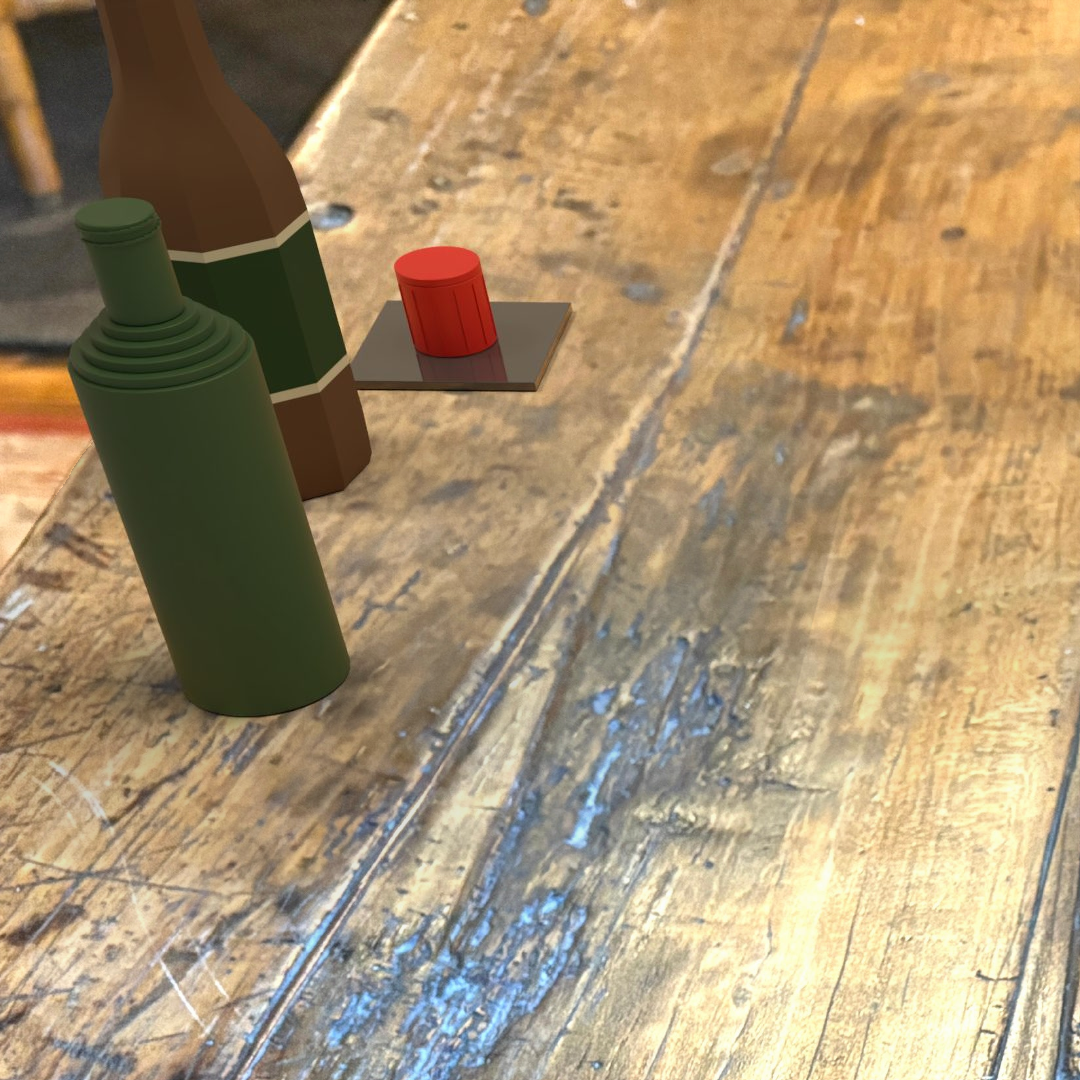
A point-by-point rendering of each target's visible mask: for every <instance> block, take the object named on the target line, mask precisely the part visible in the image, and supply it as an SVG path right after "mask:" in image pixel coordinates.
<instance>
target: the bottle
mask: <svg viewBox="0 0 1080 1080" xmlns="http://www.w3.org/2000/svg"><path fill="white" fill-rule="evenodd" d="M161 223H162V222H161V219H160V218H159V217H158V215H157V213H155V209H154V207H153V206H152V205H151V204H150V203H149V202H147V201H145V200H141V199H136V198H110V199H104V198H103V199H100V200H96V201H93V202H90V203H88V204H86V205H84V206H82V207H80V208H78V210H77V211H76V212H75V215H74V225H73V226H74V228H75V230H76V231H77V232H79V234H80V237H81V238H80V239H79V240H80V242H81V243H82V245H83V246H84V250H85V252H86V255H87V258H88V262H89V263H90V267H91V270H92V273H93V276H94V278H95V281H96V284H97V288H98V290H99V294H100V296H101V299H102V301H103V305H104V307H103V308H102V309H101V310H100V311H99V313H98V315H97V316H96V317H95V318H93V319H92V321H91V322H90V323H89V325H88V326H87V327H85V329H84V330H83V331H82V333H81V334H80V335H79V337H77V338H76V340H75V341H74V342H73V343H72V345H70V346H71V347H70V350H69V357H68V358H67V363H66V364H67V365H66V367H67V372H68V375H69V377H70V380H71V383H72V386H73V388H74V391H75V394H76V396H77V400H78V403H79V405H80V408H81V410H82V414H83V416H84V419H85V423H86V425H87V427H88V430H89V434H90V436H91V438H92V441H93V444H94V447H95V450H96V452H97V455H98V458H99V462H100V465H101V466H102V469H103V471H104V475H105V478H106V481H107V483H108V486H109V489H110V491H111V494H112V497H113V500H114V502H115V506H116V509H117V512H118V513H119V518H120V519H121V522H122V525H123V527H124V530H125V533H126V536H127V539H128V541H129V544H130V547H131V550H132V553H133V556H134V559H135V561H136V564H137V566H138V569H139V572H140V575H141V578H142V580H143V584H144V587H145V589H146V591H147V592H146V593H147V595H148V597H149V599H150V603H151V605H152V608H153V611H154V613H155V617H156V619H157V623H158V626H159V628H160V631H161V633H162V636H163V640H164V643H165V644H166V647H167V650H168V653H169V656H170V659H171V661H172V664H173V667H174V670H175V672H176V675H177V678H178V680H179V684H180V686H181V689H182V692H183V694H184V696H185V697H186V698H187V700H189V701H190V702H191V703H192V704H193V705H195V706H197V707H199V708H201V709H203V710H205V711H207V712H211V713H215V714H217V715H218V714H219V715H223V714H224V715H223V716H231V715H233V716H232V717H261V716H267V715H268V716H269V715H275V714H280V713H284V712H289V711H293V710H296V709H300V708H302V707H305V706H309V705H310V704H313V703H314V702H317V701H319V700H321V699H323V698H325V697H326V696H328V695H329V694H330V693H332V692H333V691H335V690H337V688H338V687H339V686H340V685H341V684H342V683H343V682H344V681H345V679H346V678H347V676H348V674H349V671H350V668H351V658H350V654H349V651H348V648H347V645H346V641H345V637H344V635H343V632H342V629H341V625H340V622H339V619H338V615H337V611H336V609H335V605H334V601H333V599H332V595H331V592H330V589H329V585H328V582H327V578H326V575H325V572H324V568H323V566H322V565H323V564H322V562H321V558H320V555H319V552H318V549H317V546H316V543H315V539H314V537H313V532H312V529H311V526H310V523H309V520H308V516H307V513H306V509H305V506H304V503H303V500H302V499H301V496H300V493H299V489H298V486H297V483H296V479H295V476H294V473H293V470H292V466H291V463H290V460H289V456H288V453H287V450H286V446H285V443H284V440H283V437H282V433H281V430H280V427H279V423H278V420H277V417H276V413H275V410H274V407H273V404H272V400H271V397H270V394H269V390H268V387H267V384H266V380H265V377H264V374H263V371H262V367H261V364H260V361H259V357H258V354H257V351H256V347H255V344H254V341H253V339H252V337H251V336H250V335H249V334H248V333H247V332H246V331H245V330H244V329H243V328H242V327H241V326H240V324H239V323H238V322H236V321H235V320H233V319H232V318H230V317H228V316H225V315H222V314H220V313H219V312H217V311H215V310H213V309H210V308H207V307H206V306H204V305H202V304H200V303H198V302H195V301H193V300H191V299H190V298H188V297H185V296H182V294H181V291H180V288H179V285H178V281H177V278H176V275H175V272H174V269H173V266H172V263H171V260H170V256H169V253H168V250H167V247H166V244H165V241H164V238H163V234H162V231H161ZM237 715H238V716H237Z"/></svg>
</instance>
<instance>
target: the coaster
mask: <svg viewBox="0 0 1080 1080" xmlns="http://www.w3.org/2000/svg"><path fill="white" fill-rule="evenodd" d="M490 306H491V310H492V314H493V319H494V323H495V327H496V331H497V340H496V342H495V343H494V344H493V345H492V346H491V347H489V348H488V349H486V350H484V351H481V352H479V353H476V354H472V355H469V356H462V357H453V358H447V357H434V356H430V355H426V354H423V353H421V352H420V351H418V350H417V349H416V348H415V346H414V344H413V341H412V337H411V334H410V330H409V326H408V322H407V318H406V314H405V310H404V306H403V302H402V300H398V299H397V300H394V299H393V300H392V299H391V300H389V299H387V300H386V301H385V302H384V304H383V306H382V308H381V309H380V311H379V312H378V314H377V316H376V318H375V320H374V322H373V324H372V325H371V327H370V328H369V330H368V332H367V334H366V335H365V337H364V339H363V340H362V343H361V344H360V345H359V348H358V349H357V351H356V353H355V355H354V357H353V358H352V360H351V361H350V366H351V369H352V373H353V376H354V380H355V384H356V387H357V390H428V391H429V390H431V391H432V390H436V391H442V390H445V391H456V390H457V391H458V390H459V391H527V392H528V391H531V392H533V391H534V392H535V391H538V388H539V385H540V383H541V381H542V379H543V376H544V375H545V372H546V370H547V367H548V365H549V363H550V361H551V358H552V356H553V354H554V352H555V350H556V347H557V345H558V343H559V341H560V339H561V336H562V334H563V332H564V330H565V327H566V325H567V324H568V321H569V318H570V317H571V314H572V312H573V305H572V303H571V302H564V301H563V302H562V301H561V302H560V301H559V302H558V301H490Z"/></svg>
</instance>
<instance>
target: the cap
mask: <svg viewBox="0 0 1080 1080" xmlns="http://www.w3.org/2000/svg"><path fill="white" fill-rule="evenodd" d="M482 267H483V266H482V263H481V259H480V257H479V255H478V253H476V252H475V251H472V250H471V249H468V248H464V247H459V246H453V245H452V246H451V245H436V246H428V247H422V248H418V249H414V250H412V251H409V252H407V253H404V254H402V255H401V256H400V257H399V258H397V260H395V262H394V264H393V270H394V274H395V278H396V281H397V287H398V291H399V294H400V298H401V301H402V302H403V306H404V310H405V314H406V318H407V322H408V326H409V330H410V334H411V337H412V341H413V344H414V346H415V348H416V349H417V350H418V351H420V352H421V353H423V354H426V355H430V356H434V357H447V358H453V357H462V356H469V355H472V354H476V353H479V352H481V351H484V350H486V349H488V348H489V347H491V346H492V345H493V344H494V343H495V342H496V340H497V331H496V327H495V323H494V319H493V314H492V310H491V306H490V302H491V301H490V298H489V293H488V288H487V284H486V280H485V276H484V272H483V268H482Z"/></svg>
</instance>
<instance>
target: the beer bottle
mask: <svg viewBox="0 0 1080 1080" xmlns="http://www.w3.org/2000/svg"><path fill="white" fill-rule="evenodd" d="M94 2H95V6H96V11H97V14H98V19H99V22H100V25H101V30H102V33H103V37H104V41H105V45H106V49H107V55H108V61H109V69H110V77H111V83H112V91H113V93H112V96H111V99H110V102H109V105H108V109H107V111H106V115H105V118H104V120H103V124H102V127H101V130H100V132H99V148H98V149H99V150H98V179H99V185H100V187H101V191H102V195H103V200H104V199H110V198H136V199H141V200H145V201H147V202H149V203H150V204H151V205H152V206H153V207H154V209H155V213H157V215H158V217H159V218H160V219H161V222H162V223H161V231H162V234H163V238H164V241H165V244H166V247H167V250H168V253H169V256H170V260H171V263H172V266H173V269H174V272H175V275H176V278H177V281H178V285H179V288H180V291H181V294H182V296H185V297H188V298H190V299H191V300H193V301H195V302H198V303H200V304H202V305H204V306H206V307H207V308H210V309H213V310H215V311H217V312H219V313H220V314H222V315H225V316H228V317H230V318H232V319H233V320H235V321H236V322H238V323H239V324H240V326H241V327H242V328H243V329H244V330H245V331H246V332H247V333H248V334H249V335H250V336H251V337H252V339H253V341H254V344H255V347H256V351H257V354H258V357H259V361H260V364H261V367H262V371H263V374H264V377H265V380H266V384H267V387H268V390H269V394H270V397H271V400H272V404H273V407H274V410H275V413H276V417H277V420H278V423H279V427H280V430H281V433H282V437H283V440H284V443H285V446H286V450H287V453H288V456H289V460H290V463H291V466H292V470H293V473H294V476H295V479H296V483H297V486H298V489H299V493H300V496H301V499H302V501H305V500H309V499H313V498H317V497H321V496H324V495H327V494H332V493H335V492H339V491H343V490H345V489H346V487H348V485H349V484H350V483H352V481H353V480H354V479H355V478H356V477H357V476H358V474H360V473H361V472H362V470H364V468H365V467H366V466H367V465H368V464H369V463H370V462H371V459H372V458H371V457H372V454H373V450H372V447H371V446H372V445H371V442H370V436H369V432H368V427H367V422H366V417H365V413H364V410H363V406H362V402H361V398H360V394H359V392H358V391H359V390H358V389H357V387H356V384H355V380H354V376H353V373H352V369H351V366H350V364H351V361H350V359H349V355H348V351H347V348H346V344H345V340H344V336H343V334H342V329H341V326H340V322H339V318H338V315H337V311H336V308H335V303H334V301H333V297H332V294H331V290H330V286H329V282H328V278H327V276H326V272H325V268H324V264H323V261H322V257H321V252H320V250H319V246H318V242H317V238H316V235H315V232H314V227H313V223H312V220H311V217H310V213H309V210H308V207H307V204H306V201H305V199H304V196H303V192H302V189H301V187H300V184H299V181H298V178H297V176H296V174H295V170H294V168H293V165H292V162H291V161H290V159H289V158H288V157H287V155H286V154H285V152H284V150H283V148H282V147H281V146H280V144H279V143H278V140H277V139H276V137H275V136H274V135H273V133H272V132H271V130H270V129H269V127H268V126H267V124H266V123H265V122H264V121H262V119H261V118H260V117H258V115H257V114H256V113H255V112H254V111H253V110H252V109H251V108H250V107H249V106H248V105H247V104H246V103H245V102H244V101H243V100H242V99H241V98H240V97H239V95H238V94H237V93H235V92H234V90H232V88H231V87H229V85H228V83H227V81H226V79H225V77H224V75H223V72H222V70H221V68H220V66H219V64H218V61H217V60H216V57H215V55H214V52H213V51H212V49H211V46H210V44H209V41H208V39H207V36H206V33H205V30H204V27H203V24H202V21H201V19H200V16H199V13H198V10H197V8H196V7H197V6H196V4H195V2H194V0H94Z"/></svg>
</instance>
